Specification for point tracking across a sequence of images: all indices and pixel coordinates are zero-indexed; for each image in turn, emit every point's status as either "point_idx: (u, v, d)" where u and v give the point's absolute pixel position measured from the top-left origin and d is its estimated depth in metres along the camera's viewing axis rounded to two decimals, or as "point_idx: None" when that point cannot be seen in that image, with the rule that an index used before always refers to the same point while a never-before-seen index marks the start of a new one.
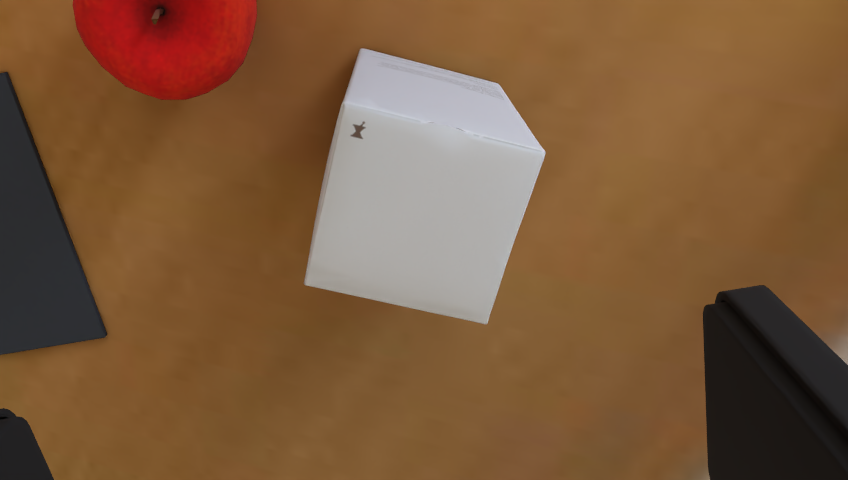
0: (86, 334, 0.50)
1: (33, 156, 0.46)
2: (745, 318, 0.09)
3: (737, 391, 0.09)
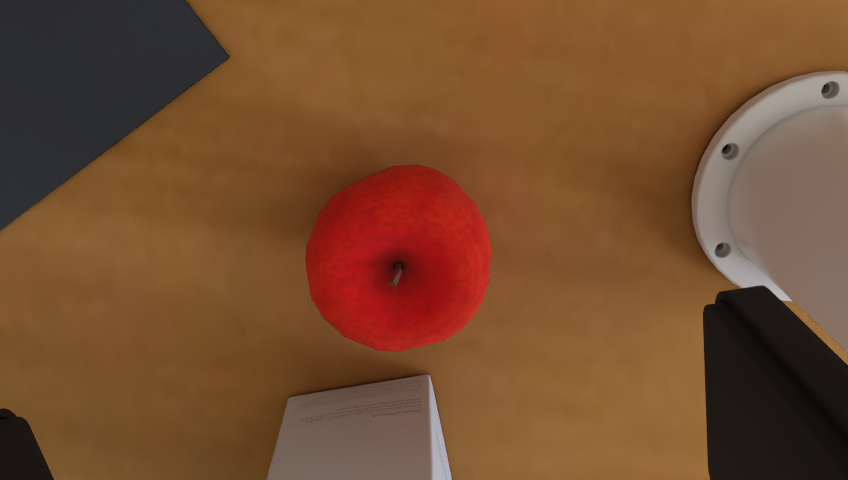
0: None
1: (148, 113, 0.38)
2: (745, 318, 0.09)
3: (737, 391, 0.09)
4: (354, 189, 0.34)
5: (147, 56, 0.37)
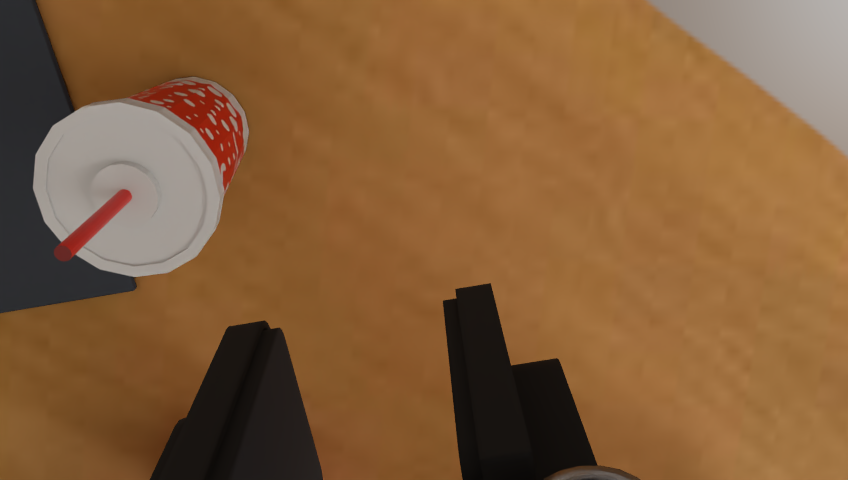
0: None
1: (30, 304, 0.36)
2: None
3: None
4: None
5: (52, 257, 0.35)
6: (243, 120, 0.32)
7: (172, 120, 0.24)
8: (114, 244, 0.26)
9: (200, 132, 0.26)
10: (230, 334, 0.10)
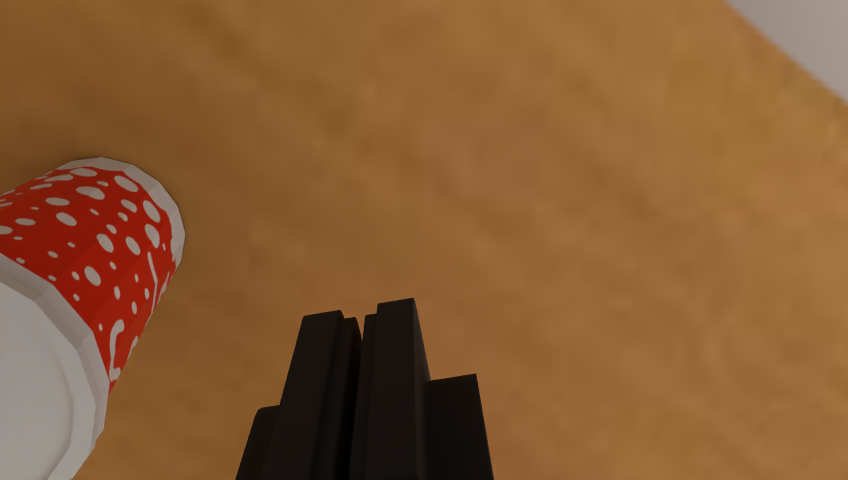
0: None
1: None
2: (378, 327, 0.10)
3: None
4: None
5: None
6: (174, 221, 0.22)
7: (3, 279, 0.14)
8: None
9: (71, 281, 0.15)
10: (308, 323, 0.10)
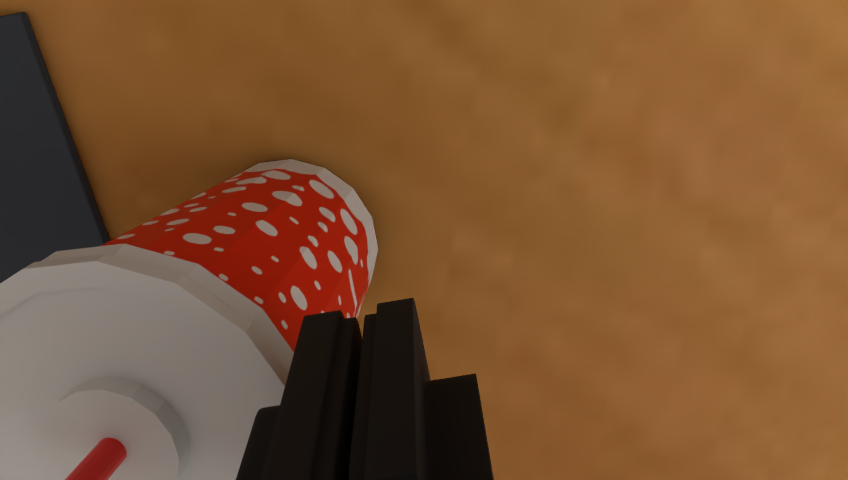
0: None
1: None
2: (377, 327, 0.10)
3: None
4: None
5: None
6: (369, 234, 0.19)
7: (209, 301, 0.11)
8: None
9: (278, 303, 0.12)
10: (308, 323, 0.10)
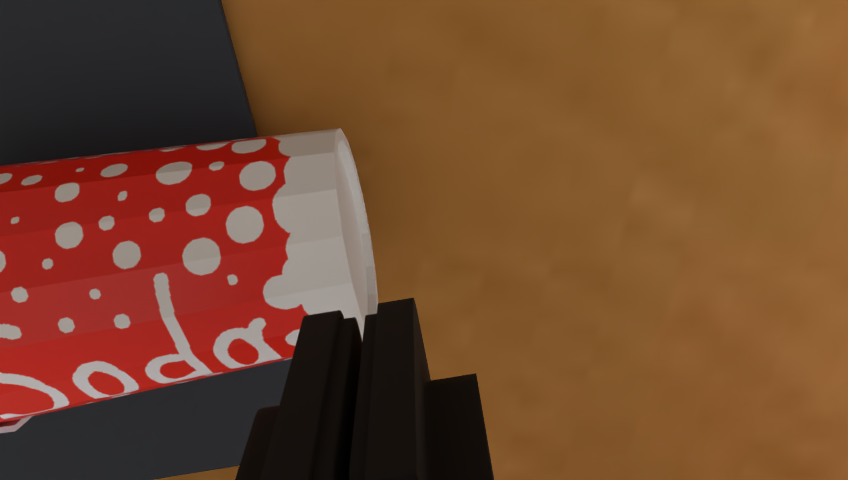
0: None
1: (168, 471, 0.22)
2: (377, 327, 0.10)
3: None
4: None
5: (210, 401, 0.21)
6: (308, 254, 0.14)
7: None
8: None
9: None
10: (307, 323, 0.10)
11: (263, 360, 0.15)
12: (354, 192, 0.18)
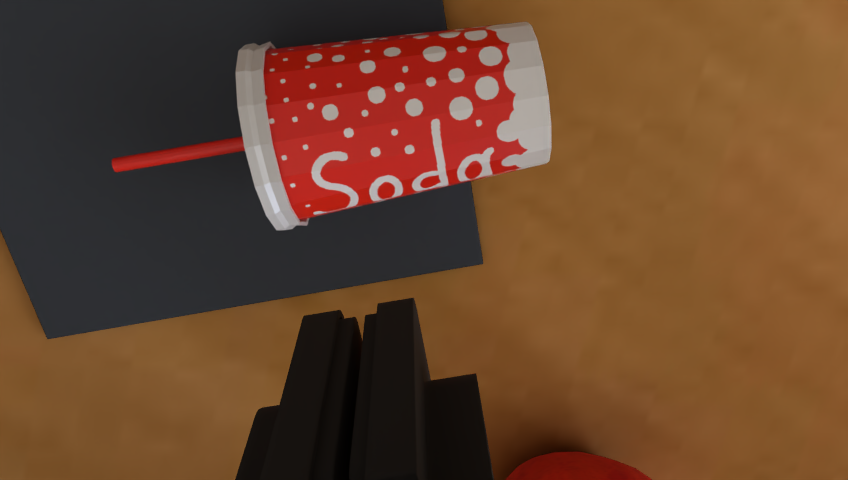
0: (47, 313, 0.30)
1: (357, 281, 0.30)
2: (378, 327, 0.10)
3: None
4: None
5: (394, 224, 0.29)
6: (526, 106, 0.22)
7: (240, 86, 0.22)
8: None
9: (301, 107, 0.22)
10: (307, 323, 0.10)
11: (481, 176, 0.24)
12: None
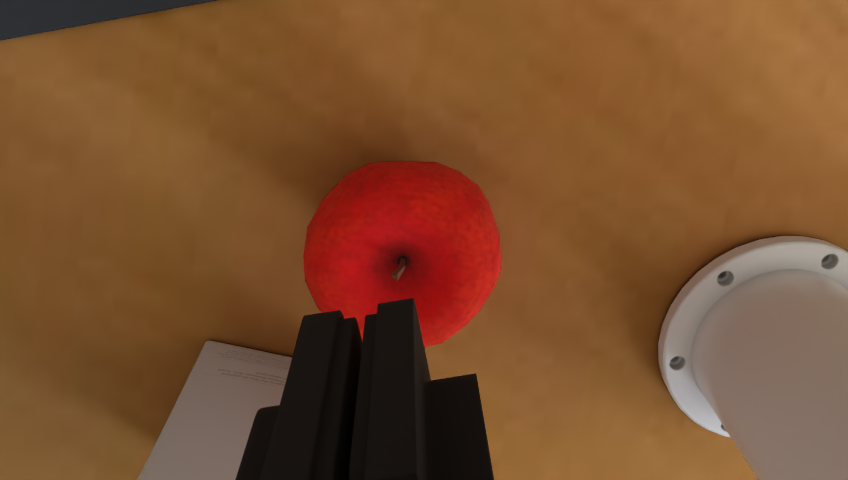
0: None
1: None
2: (378, 327, 0.10)
3: None
4: (396, 169, 0.32)
5: None
6: None
7: None
8: None
9: None
10: (308, 323, 0.10)
11: None
12: None
